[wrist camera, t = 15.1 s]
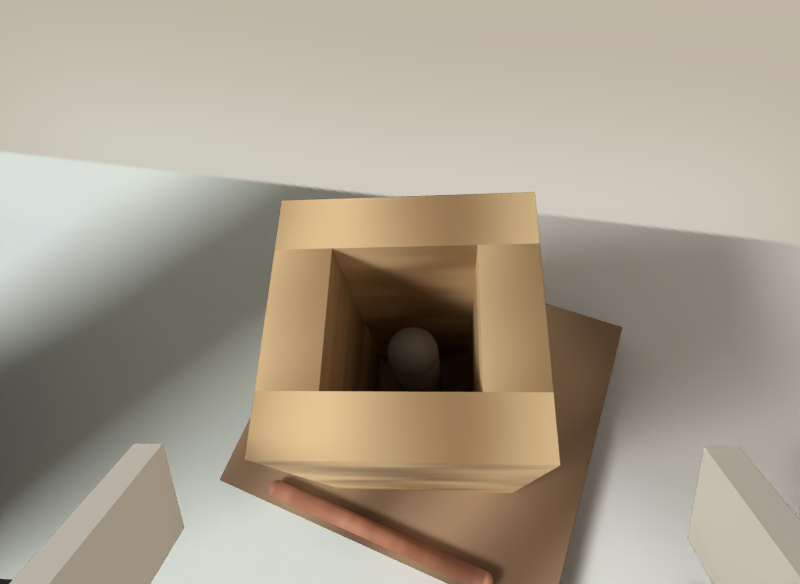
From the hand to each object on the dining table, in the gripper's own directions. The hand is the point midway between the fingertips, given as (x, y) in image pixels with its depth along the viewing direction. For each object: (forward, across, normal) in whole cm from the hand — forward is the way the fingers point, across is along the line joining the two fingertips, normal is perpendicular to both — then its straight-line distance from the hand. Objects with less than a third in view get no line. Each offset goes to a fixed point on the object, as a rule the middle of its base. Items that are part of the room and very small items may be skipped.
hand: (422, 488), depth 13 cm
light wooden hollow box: (+12, -1, -5) cm, 13 cm away
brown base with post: (+13, 0, -6) cm, 14 cm away
